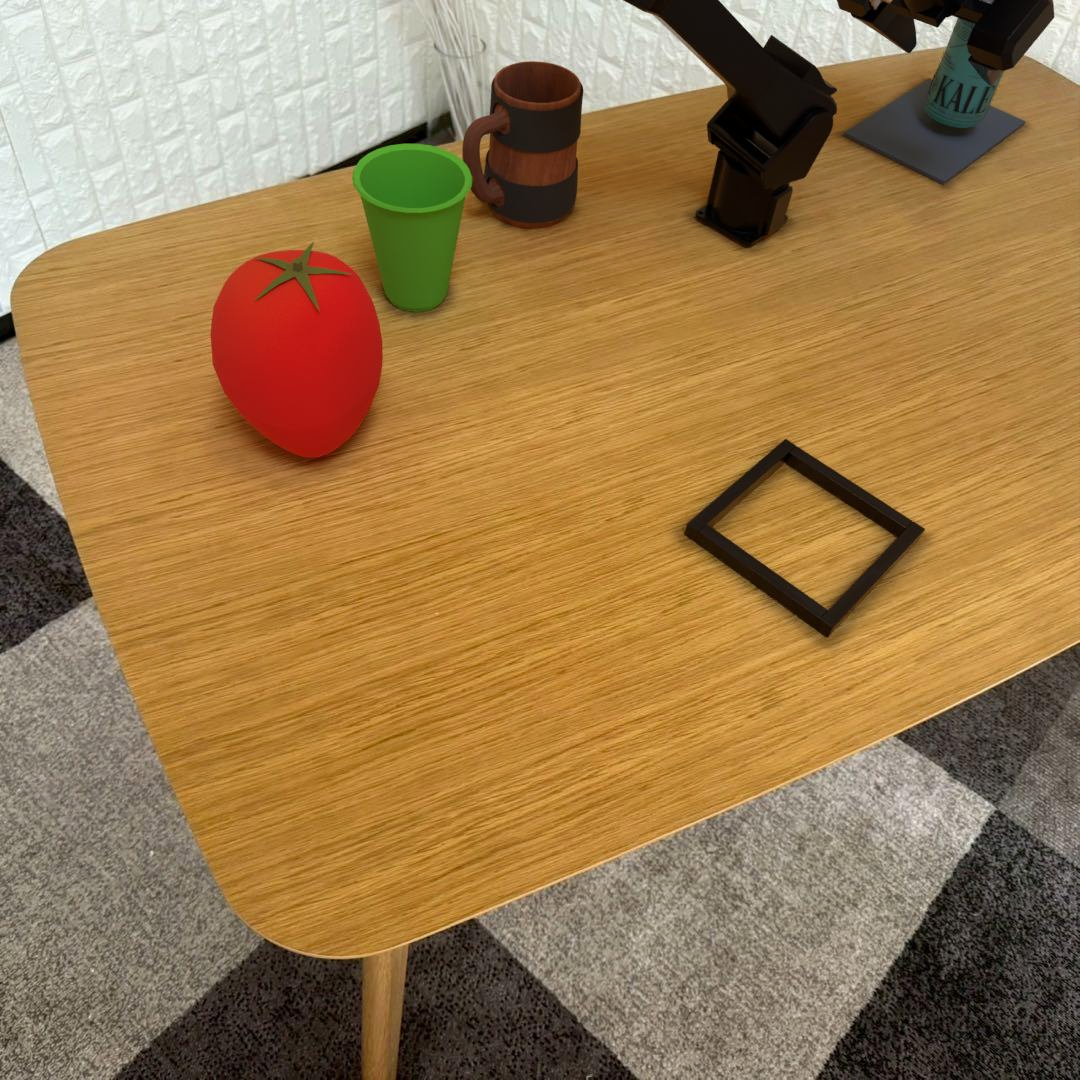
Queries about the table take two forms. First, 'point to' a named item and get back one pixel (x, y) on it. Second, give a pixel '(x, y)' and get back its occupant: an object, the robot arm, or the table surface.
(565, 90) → the mug
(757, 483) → the black square frame
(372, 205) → the cup
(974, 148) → the table mat
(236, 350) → the tomato
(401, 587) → the table surface
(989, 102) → the beverage bottle
